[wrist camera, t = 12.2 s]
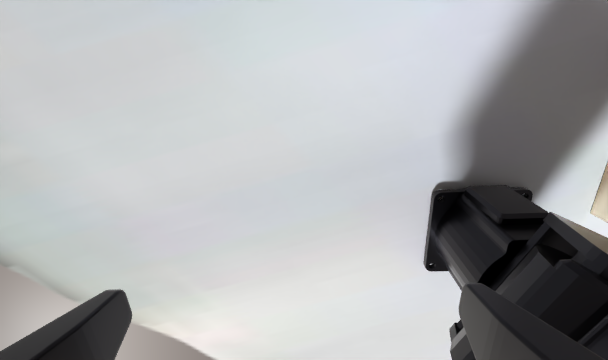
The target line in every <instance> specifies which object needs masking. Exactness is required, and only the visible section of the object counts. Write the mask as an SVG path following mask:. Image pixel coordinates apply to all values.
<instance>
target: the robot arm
mask: <svg viewBox="0 0 608 360" xmlns="http://www.w3.org/2000/svg"><path fill="white" fill-rule="evenodd" d="M524 193H525V195H524V196H522V194H524ZM439 196H443V197H442V199H441V200H438V197H439ZM531 200H532V192H531V191H530V190H528V189H526V188H523V187H522V188H509V187H508V186H506V185H496V186H469V187H467V188H466V189H457V190H438V191H436V192H434V193H433V195H432V199H431V207H430V215H429V223H428V231H427V239H426V248H425V256H424V266H425V268H426V269H427V270H428V271H449V272H450V274H451V275H452V277H453V278H454V280H455V281H456V283H457V284H458V286H459V287H460V289H461V291H462V293H461V298H460V304H459V315H460V318H461V320H460V321H459V322H458V323H454V324H453V326H452V327H451V328H450V337H451V343H452V344H451V350H450V353H451V357H452V360H608V238H607V237H604V236H602V235H600V234H598V233H596V232H594V231H591V230H589V229H587V228H585V227H583V226H581V225H578V224H576V223H574V222H572V221H570V220H568V219H565V218H563V217H561V216H559V215H557V214H555V213H552V212H549V213H548V212H547V211H545V210H544V209H542V208H541V207H539V206H537V205H536V204H534V203H533V202H531ZM431 263H433V264H432V265H429V264H431ZM131 319H132V311H131V308H130V305H129V302H128V299H127V296H126V294H125V292H124V291H123V290H106V291H104V292H102V293H100V294H99V295H97V296H95V297H93V298H92V299H90V300H88V301H87V302H85V303H83V304H81V305H80V306H78V307H76V308H74V309H73V310H71V311H69V312H68V313H66V314H64V315H62V316H61V317H59V318H57V319H55V320H54V321H52V322H50V323H49V324H47V325H45V326H43V327H42V328H40V329H38V330H37V331H35V332H33V333H31V334H30V335H28V336H26V337H24V338H23V339H21V340H19V341H18V342H16V343H14V344H12V345H11V346H9V347H7V348H5V349H4V350H2V351H0V360H115V357H116V355H117V353H118V350H119V348H120V346H121V343H122V341H123V339H124V336H125V334H126V332H127V330H128V327H129V325H130V323H131Z"/></svg>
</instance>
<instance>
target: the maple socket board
mask: <svg viewBox="0 0 608 360" xmlns="http://www.w3.org/2000/svg"><path fill="white" fill-rule="evenodd" d="M590 214H592V215H594V216H596V217H598V218H600V219H601V220H603V221H605V222H607V223H608V163H607V166H606V169H605V172H604V175H603V178H602V181H601V184H600V186H599V189H598V192H597V195H596V198H595V201H594V204H593V207H592V210H591V212H590Z"/></svg>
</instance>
